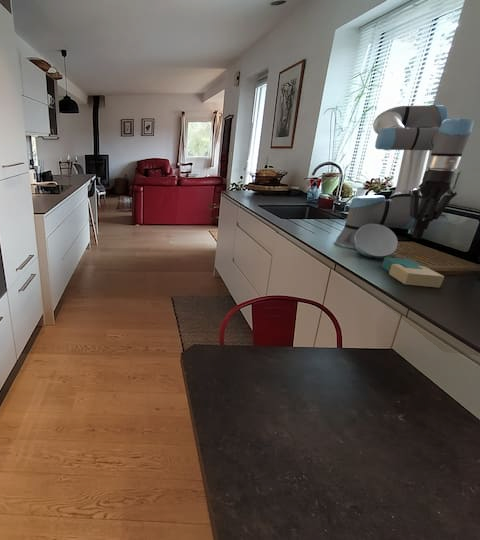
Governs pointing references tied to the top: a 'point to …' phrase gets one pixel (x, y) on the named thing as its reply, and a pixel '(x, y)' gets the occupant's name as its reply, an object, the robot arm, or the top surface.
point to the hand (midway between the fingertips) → (416, 237)
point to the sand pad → (416, 276)
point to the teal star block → (404, 262)
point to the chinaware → (375, 240)
